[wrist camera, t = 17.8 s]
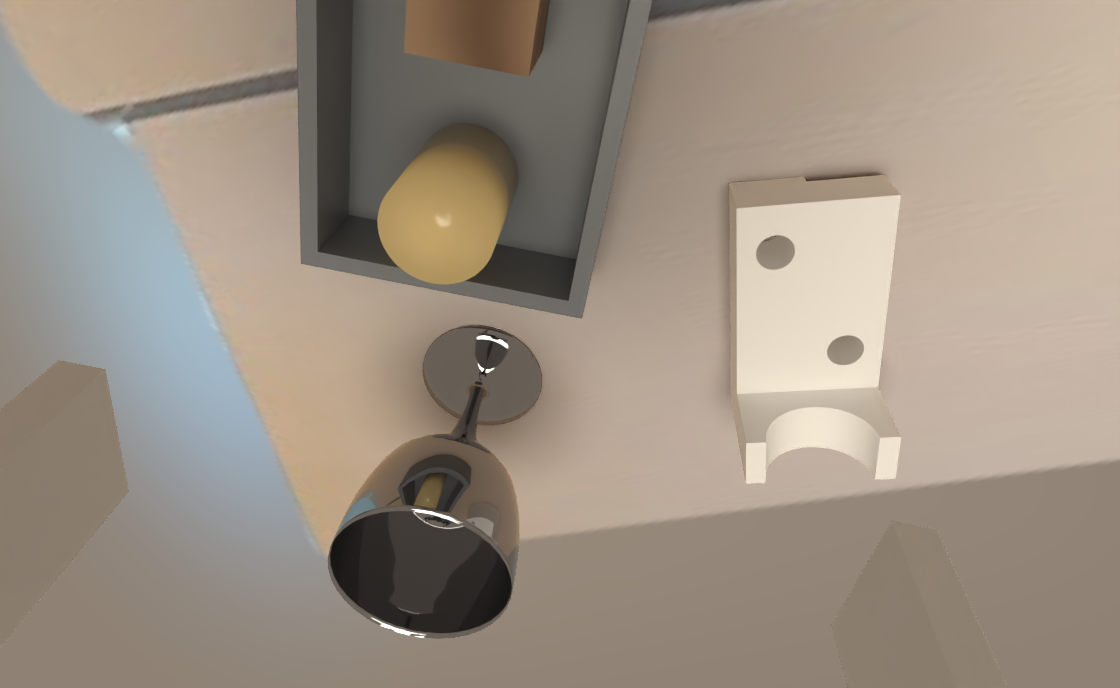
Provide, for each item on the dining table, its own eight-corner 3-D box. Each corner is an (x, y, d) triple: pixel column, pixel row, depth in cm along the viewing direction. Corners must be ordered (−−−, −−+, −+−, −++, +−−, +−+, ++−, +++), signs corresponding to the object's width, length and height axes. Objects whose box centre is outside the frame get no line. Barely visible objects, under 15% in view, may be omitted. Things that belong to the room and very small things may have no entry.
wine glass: (473, 293, 41) (399, 478, 29) (576, 379, 44) (551, 584, 31) (389, 375, 45) (292, 572, 32) (490, 450, 47) (436, 661, 35)
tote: (341, -176, 30) (293, -183, 26) (670, -108, 31) (675, -105, 26) (336, 222, 40) (300, 263, 36) (588, 271, 40) (582, 318, 36)
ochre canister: (415, 210, 39) (375, 272, 33) (422, 114, 36) (380, 162, 30) (511, 229, 39) (488, 294, 33) (525, 134, 36) (503, 187, 30)
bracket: (856, 388, 43) (895, 478, 37) (730, 394, 44) (745, 483, 38) (879, 168, 36) (930, 231, 30) (728, 181, 37) (747, 245, 31)
